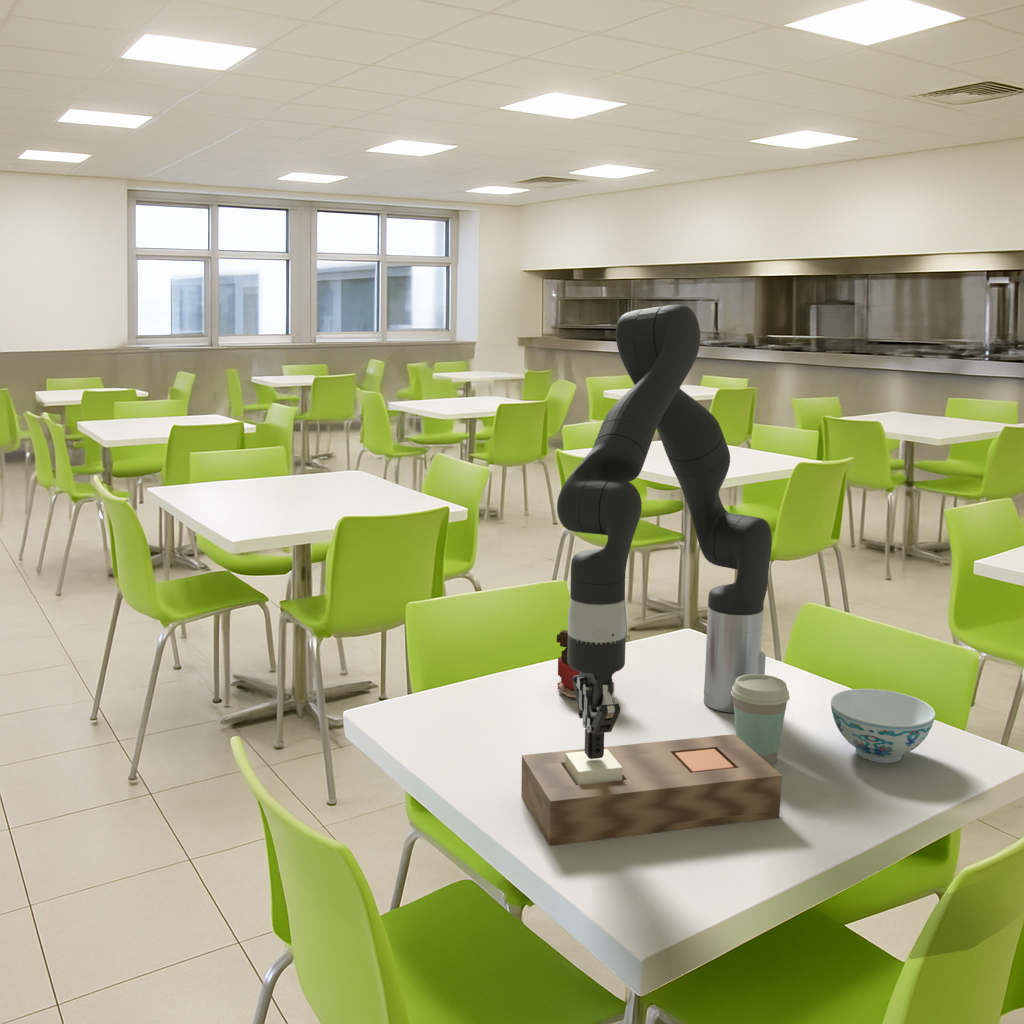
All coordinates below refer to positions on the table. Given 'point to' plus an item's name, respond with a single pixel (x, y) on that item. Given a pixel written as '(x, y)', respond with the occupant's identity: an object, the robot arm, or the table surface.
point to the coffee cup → (760, 712)
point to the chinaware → (881, 722)
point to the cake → (565, 667)
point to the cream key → (592, 768)
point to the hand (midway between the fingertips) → (594, 756)
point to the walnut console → (650, 791)
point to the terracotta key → (703, 760)
